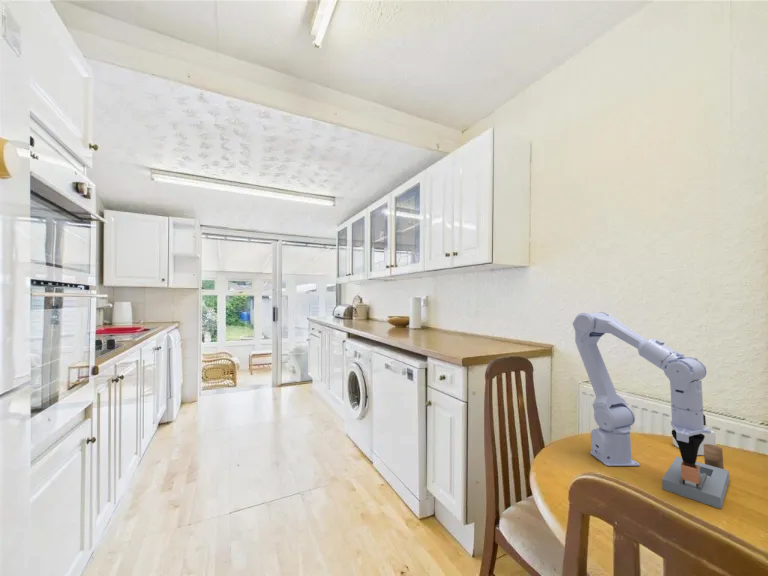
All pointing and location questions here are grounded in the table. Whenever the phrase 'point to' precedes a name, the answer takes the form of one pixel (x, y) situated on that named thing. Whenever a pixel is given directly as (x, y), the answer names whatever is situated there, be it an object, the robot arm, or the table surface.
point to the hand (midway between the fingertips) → (689, 462)
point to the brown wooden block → (713, 456)
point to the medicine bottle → (707, 440)
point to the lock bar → (690, 474)
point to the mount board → (708, 488)
